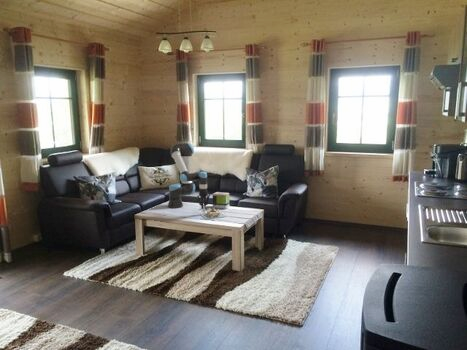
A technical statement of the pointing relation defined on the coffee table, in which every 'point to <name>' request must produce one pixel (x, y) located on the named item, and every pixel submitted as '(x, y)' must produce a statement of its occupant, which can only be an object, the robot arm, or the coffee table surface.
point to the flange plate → (212, 213)
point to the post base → (213, 217)
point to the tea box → (220, 200)
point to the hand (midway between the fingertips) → (203, 212)
